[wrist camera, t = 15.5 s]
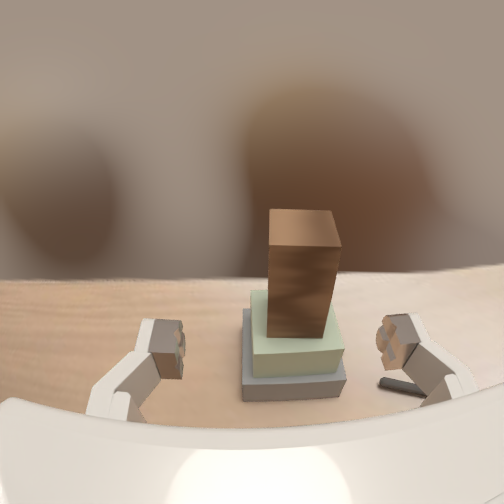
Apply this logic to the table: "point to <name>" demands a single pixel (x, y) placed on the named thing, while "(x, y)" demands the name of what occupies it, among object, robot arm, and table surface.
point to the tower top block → (292, 346)
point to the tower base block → (285, 378)
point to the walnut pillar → (301, 272)
